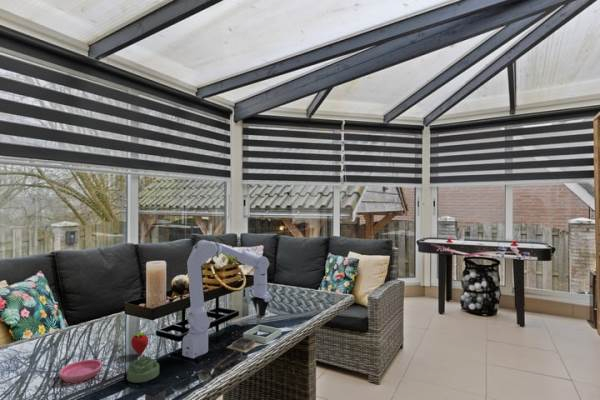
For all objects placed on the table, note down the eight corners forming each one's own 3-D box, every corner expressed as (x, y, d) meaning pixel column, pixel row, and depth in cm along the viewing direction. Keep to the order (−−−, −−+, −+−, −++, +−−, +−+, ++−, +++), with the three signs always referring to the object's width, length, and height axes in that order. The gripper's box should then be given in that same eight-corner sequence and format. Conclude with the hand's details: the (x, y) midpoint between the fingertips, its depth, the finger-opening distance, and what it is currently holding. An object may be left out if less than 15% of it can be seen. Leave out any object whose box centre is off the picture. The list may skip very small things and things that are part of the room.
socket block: (245, 354, 131) (245, 348, 131) (225, 349, 135) (226, 343, 135) (260, 345, 139) (260, 339, 139) (241, 340, 144) (241, 335, 144)
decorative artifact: (160, 378, 113) (157, 366, 122) (160, 357, 113) (157, 346, 122) (127, 385, 108) (126, 372, 117) (127, 363, 108) (126, 352, 117)
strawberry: (135, 360, 126) (135, 333, 126) (128, 354, 131) (128, 328, 131) (151, 355, 130) (151, 329, 130) (143, 350, 135) (144, 325, 135)
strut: (266, 321, 146) (266, 303, 146) (258, 323, 143) (258, 304, 144) (262, 319, 149) (261, 301, 149) (253, 321, 147) (253, 302, 147)
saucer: (109, 368, 120) (110, 359, 120) (86, 386, 108) (86, 376, 108) (76, 367, 121) (76, 358, 121) (49, 385, 108) (49, 375, 108)
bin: (266, 345, 139) (266, 338, 139) (243, 340, 145) (243, 333, 145) (281, 335, 150) (281, 329, 150) (259, 331, 156) (259, 324, 156)
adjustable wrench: (229, 326, 164) (229, 322, 164) (222, 323, 168) (222, 319, 168) (270, 315, 181) (270, 311, 181) (262, 312, 185) (262, 309, 186)
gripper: (276, 285, 143) (276, 317, 142) (261, 279, 155) (261, 309, 155) (260, 287, 139) (261, 320, 139) (247, 281, 151) (247, 311, 151)
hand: (260, 314), depth 146 cm, fingers closed on strut, 3 cm apart
